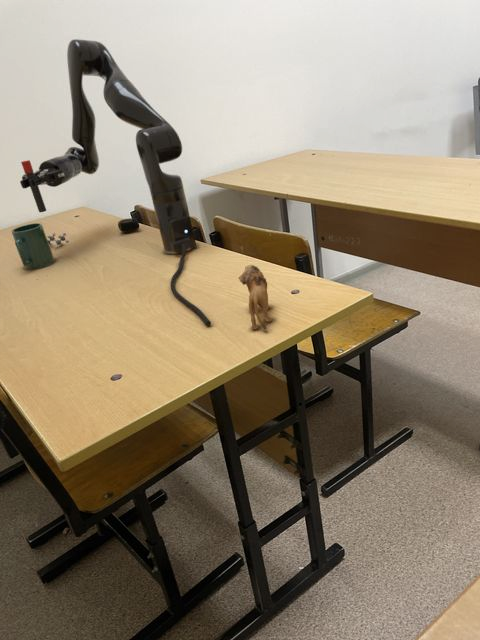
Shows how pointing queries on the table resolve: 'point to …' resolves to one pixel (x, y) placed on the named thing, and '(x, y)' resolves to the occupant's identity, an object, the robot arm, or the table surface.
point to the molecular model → (57, 240)
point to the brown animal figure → (256, 293)
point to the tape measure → (128, 225)
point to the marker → (35, 190)
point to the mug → (33, 246)
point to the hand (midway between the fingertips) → (26, 184)
